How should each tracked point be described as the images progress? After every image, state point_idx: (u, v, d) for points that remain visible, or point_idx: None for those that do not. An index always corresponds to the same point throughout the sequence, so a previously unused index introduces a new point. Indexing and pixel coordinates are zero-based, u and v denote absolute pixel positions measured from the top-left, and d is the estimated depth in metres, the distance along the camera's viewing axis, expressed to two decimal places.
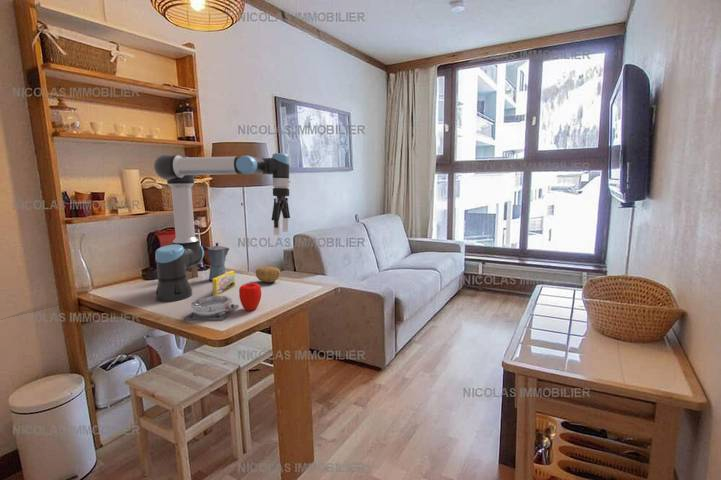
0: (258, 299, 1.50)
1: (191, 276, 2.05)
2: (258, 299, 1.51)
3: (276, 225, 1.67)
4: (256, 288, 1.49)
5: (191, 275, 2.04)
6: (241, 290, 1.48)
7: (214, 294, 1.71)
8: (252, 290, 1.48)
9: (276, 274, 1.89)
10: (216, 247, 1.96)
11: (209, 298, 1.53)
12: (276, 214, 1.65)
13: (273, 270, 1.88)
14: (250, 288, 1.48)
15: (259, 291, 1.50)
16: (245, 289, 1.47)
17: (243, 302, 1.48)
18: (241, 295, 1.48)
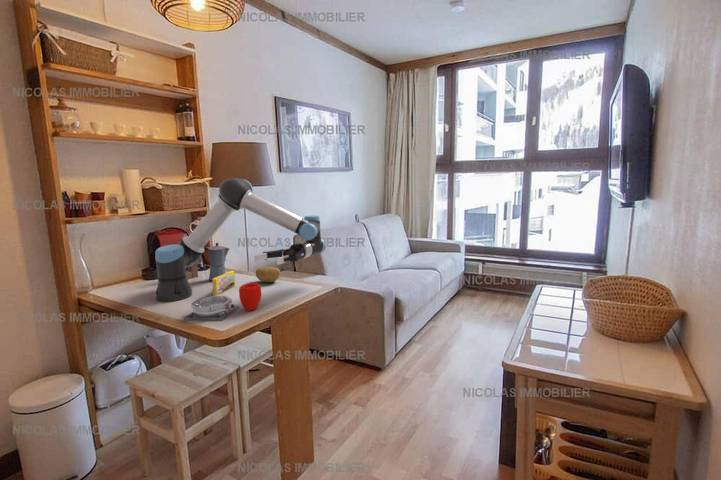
0: (258, 299, 1.50)
1: (191, 276, 2.05)
2: (258, 299, 1.51)
3: (287, 260, 1.57)
4: (256, 288, 1.49)
5: (191, 275, 2.04)
6: (241, 290, 1.48)
7: (214, 294, 1.71)
8: (252, 290, 1.48)
9: (276, 274, 1.89)
10: (216, 247, 1.96)
11: (209, 298, 1.53)
12: (297, 259, 1.60)
13: (273, 270, 1.88)
14: (250, 288, 1.48)
15: (259, 291, 1.50)
16: (245, 289, 1.47)
17: (243, 302, 1.48)
18: (241, 295, 1.48)
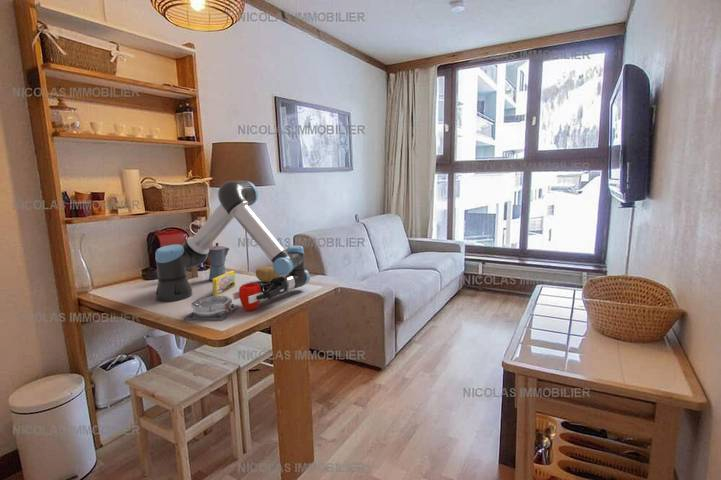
0: None
1: (191, 276, 2.05)
2: None
3: (260, 298, 1.48)
4: (256, 288, 1.49)
5: (191, 275, 2.04)
6: (241, 290, 1.48)
7: (214, 294, 1.71)
8: (252, 290, 1.48)
9: (276, 274, 1.89)
10: (216, 247, 1.96)
11: (209, 298, 1.53)
12: (272, 296, 1.51)
13: (273, 270, 1.88)
14: (250, 288, 1.48)
15: (259, 291, 1.50)
16: (245, 289, 1.47)
17: (243, 302, 1.48)
18: (241, 295, 1.48)
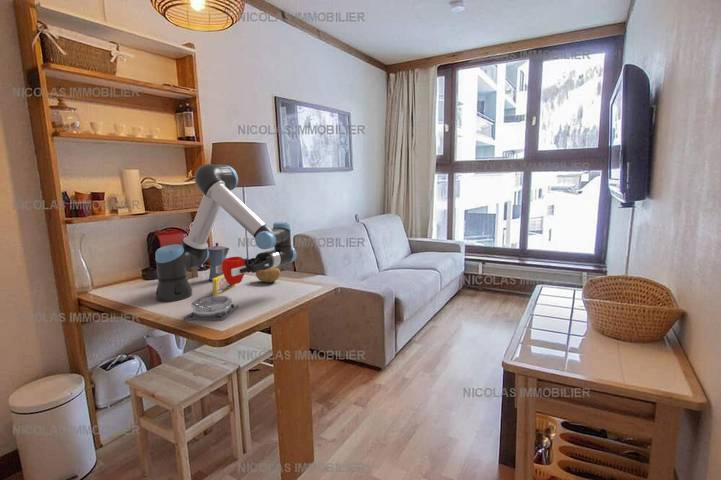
0: None
1: (191, 276, 2.05)
2: None
3: (243, 271, 1.44)
4: (240, 261, 1.45)
5: (191, 275, 2.04)
6: (224, 263, 1.44)
7: (214, 294, 1.71)
8: (235, 263, 1.44)
9: (276, 274, 1.89)
10: (216, 247, 1.96)
11: (209, 298, 1.53)
12: (256, 270, 1.48)
13: (273, 270, 1.88)
14: (233, 261, 1.44)
15: (243, 264, 1.47)
16: (228, 262, 1.43)
17: (226, 275, 1.45)
18: (224, 268, 1.44)
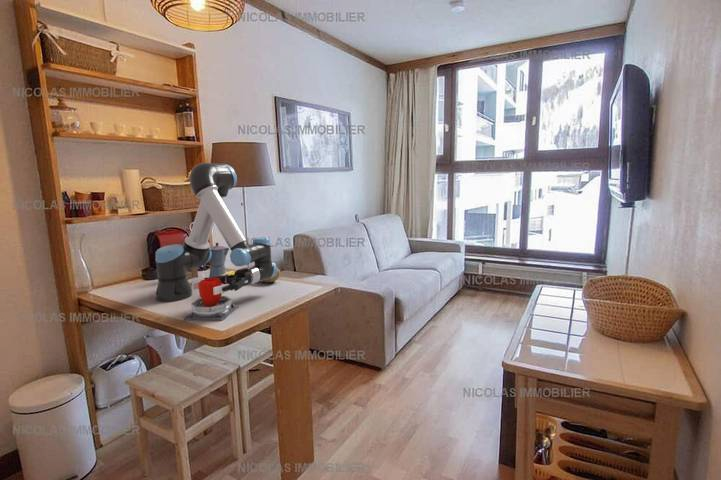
0: (218, 294, 1.46)
1: (191, 276, 2.05)
2: (218, 294, 1.46)
3: (226, 289, 1.44)
4: (216, 282, 1.45)
5: (191, 275, 2.04)
6: (200, 284, 1.44)
7: None
8: (211, 284, 1.44)
9: (276, 274, 1.89)
10: (216, 247, 1.96)
11: None
12: (238, 287, 1.47)
13: None
14: (209, 282, 1.44)
15: None
16: (204, 283, 1.43)
17: (202, 297, 1.44)
18: (200, 290, 1.44)
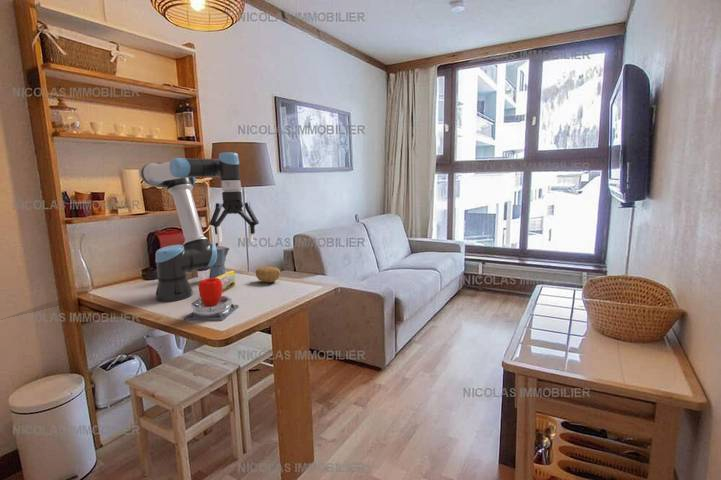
0: (218, 294, 1.46)
1: (191, 276, 2.05)
2: (219, 295, 1.46)
3: None
4: (216, 283, 1.45)
5: (191, 275, 2.04)
6: (200, 285, 1.44)
7: None
8: (211, 285, 1.43)
9: (276, 274, 1.89)
10: (216, 247, 1.96)
11: None
12: None
13: (273, 270, 1.88)
14: (209, 283, 1.43)
15: (219, 286, 1.46)
16: (204, 284, 1.43)
17: (202, 297, 1.44)
18: (200, 290, 1.44)
